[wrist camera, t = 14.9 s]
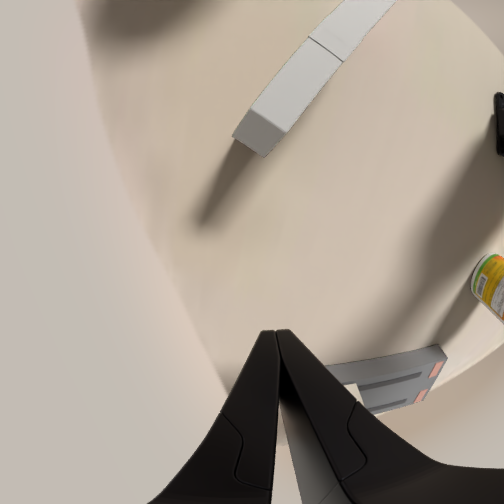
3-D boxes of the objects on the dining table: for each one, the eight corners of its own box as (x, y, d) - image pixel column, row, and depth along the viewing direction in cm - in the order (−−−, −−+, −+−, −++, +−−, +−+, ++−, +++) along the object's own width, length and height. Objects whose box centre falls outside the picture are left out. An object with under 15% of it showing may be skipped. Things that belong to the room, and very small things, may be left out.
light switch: (235, 136, 17) (229, 135, 9) (335, 15, 13) (381, -35, 6) (257, 151, 17) (267, 161, 10) (355, 29, 13) (409, -12, 6)
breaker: (356, 383, 23) (366, 412, 19) (349, 399, 24) (358, 427, 20) (336, 386, 23) (345, 416, 19) (331, 402, 24) (338, 431, 20)
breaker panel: (438, 344, 25) (448, 358, 23) (416, 387, 28) (423, 400, 26) (300, 368, 25) (304, 388, 23) (294, 410, 28) (296, 428, 26)
